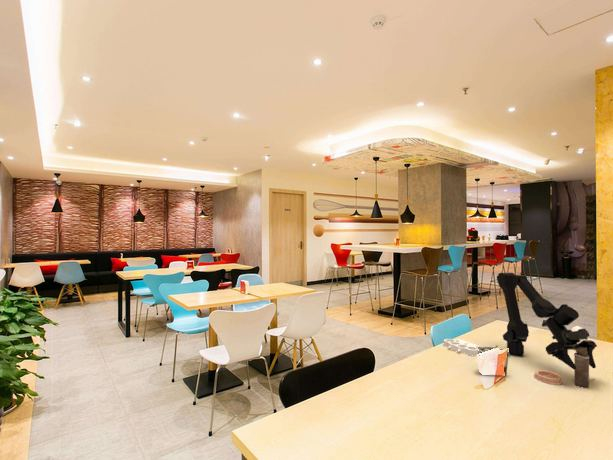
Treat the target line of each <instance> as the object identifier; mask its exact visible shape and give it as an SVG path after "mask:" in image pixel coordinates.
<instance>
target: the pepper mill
mask: <svg viewBox="0 0 613 460" xmlns="http://www.w3.org/2000/svg"><path fill="white" fill-rule="evenodd" d="M575 351H576V352H574V354H573V356H574V357H573V358H574V361H573V363H574V364H575V366H576V369H575V370H574V369H573V371H574V372H573V373H574V376H573V377H574V381H573V382H574V383H573V384H574V386H576V387H578V386H579V388H581V387H583V388H582V389H589V388H590V365H589V355H587V350H586V349H585V348H583V347H578V348H577V349H575Z"/></svg>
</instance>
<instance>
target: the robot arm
mask: <svg viewBox="0 0 613 460" xmlns="http://www.w3.org/2000/svg"><path fill="white" fill-rule="evenodd" d="M496 281H497V283H498V286H499V288H500V289H501V290H502V291H503V295H504V301H505V305H506V309H507V310H506V311H507V314H508V319H509V320H508V323H507V325H506V332H505V333H503V334H502V338H503V339H502V340H503V341H505V342H506V349H507V348H509V354H510V356H517V357H524V354H525V346H524V344H523V343H526V342H527V340H528V337H529V333H530V330H529V328H528V326H529V325H528V324H527V323H525V322H523V320H522V316H521V313H520V308H519V304H518V299H517V293H516V288H517V286H518V287H519V289H520V290H521V292H522V293H523V294H524V295H525V297H526V298H527V299H528V300H529V302H530V303H531V309H532V310H533V312H534V314H535V316H536V317H538V318H539V319H543V320H542V323H541V326H542V328H543V327H547V328H548V330H549V331H550V333H551V334H552V336H551V338H552V340H556V341H552V342H551V343H550V344H548V345H547V346H545V352H546V353H547V355H549V356H552V357H555V358H557V360H559V361H561V362H563V364H565V365H567V366H568V367H570V368H571V369H572V370H573V371H574V370H575V369H576V366H575V364H574V361H573V359H572V358H571V356H570V355H569V351H570V350H572V351H573V350H574V351H575V350H576V349H577V348H578V347H583V348H585V349H586V350H587V355H589V367H591V368H592V369H596V368H597V366H596V363H595V360H594V355H593V351H594V350H595V349H596V347H598V345H597V344H596V342H595V341H594V340H591V339H590V340H589V337H590V333H589V331H588V330H587V329H586V328H583V329H578V331H572V330H571V329H568V328H567V327H566V326H569V325H571V324H572V323H573V322H574V321H576V320H577V319H578V318H579V316H580V314H579V312H578V311H577V310H575V309H574V308H573V307H571V306H569V305H568V304H567V303H563V304H561V305H560V306H559V308H557V307H556V306H555V305H554V304H553V303H552V302H550V301H549V300H547V299H546V298H544V297H542V295H541V294H540V293H539V292H538V290H537V289H536V288H535V287H534V286H533V284H532V283H531V282H530V281H529V279H528V277H527V275H523V274H515V273H513V272H499V273H498V274H497V275H496ZM581 339H588V340H585V341H582V342H581V343H579V344H577V342H580V340H581Z"/></svg>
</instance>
